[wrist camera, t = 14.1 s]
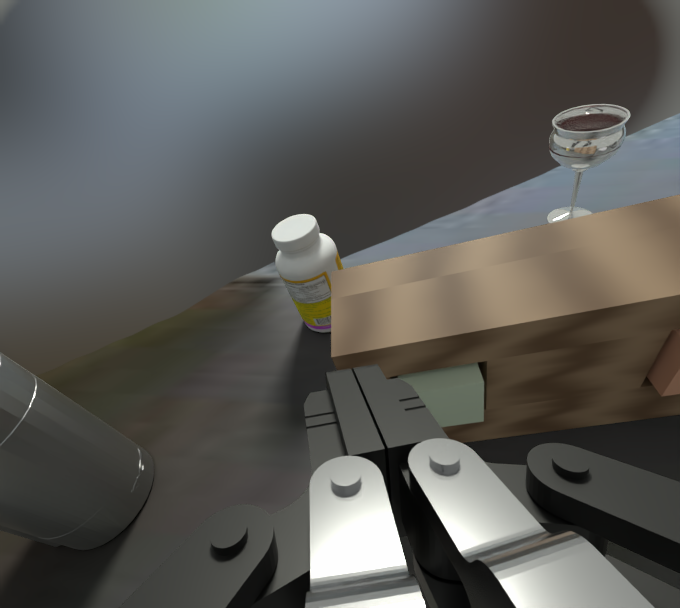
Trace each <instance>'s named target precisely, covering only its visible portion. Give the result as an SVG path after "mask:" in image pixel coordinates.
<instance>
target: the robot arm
mask: <svg viewBox="0 0 680 608" xmlns="http://www.w3.org/2000/svg"><path fill="white" fill-rule="evenodd" d="M326 384H327V390H324V391H318V392H312V393H310V394H309V396H308V397H307V399H306V401H305V403H304V411H305V419H306V427H307V435H308V444H309V452H310V460H311V468H312V477H311V481H310V484H309V486H308V488H307V489H306V491H305V492H304V493H303V495H302V496H301V497H300V498H299V499H298V500H296V501H295V502H294V503H292V504H291V505H289V506H287V507H286V508H284V509H282V510H280V511H278V512H276V513H274V514H272V515H270V516H269V514H268V513H267V512H266V511H265V510H263V509H262V508H260V507H258V506H255V505H249V504H240V505H234V506H231V507H227V508H225V509H223V510H220V511H218V512H217V513H215V514H213V515H212V516H210V517H209V518H208V519H206V520H205V521H204V522H203V523H202V524H201V525H200V526H199V527H198V528H197V529H196V530H195V531H194V532H193V533H192V534H191V535H190V536H189V537H188V538H187V539H186V540H185V541H184V542H183V543H182V544H181V545H180V546H179V547H178V548H177V549H176V550H175V551H174V552H173V553H172V554H171V555H170V556H169V557H168V558H167V559H166V560H165V561H164V562H163V563H162V564H161V565H160V566H159V567H158V568H157V569H156V570H155V571H154V573H153V574H152V575H151V576H150V577H149V578H148V579H147V580H146V581H145V582H144V583H143V584H142V585H141V586H140V587H139V588H138V589H137V590H136V591H135V592H134V593H133V594H132V595H131V596H130V597H129V598H128V599H127V600H126V601H125V602H124V603H123V604H122V605H121V606H120V607H119V608H426V607H425V604H424V600H423V597H422V594H421V590H420V587H419V585H418V582H419V584H420V586H421V589H422V591H423V593H424V595H425V598H426V600H427V602H428V604H429V607H430V608H680V590H679V589H677V588H675V587H673V586H671V585H669V584H667V583H665V582H663V581H661V580H659V579H657V578H655V577H653V576H650V575H648V574H646V573H644V572H642V571H640V570H638V569H636V568H634V567H632V566H630V565H628V564H626V563H624V562H622V561H620V560H618V559H616V558H613V557H611V556H609V555H607V554H606V549H607V543H608V540H609V541H611V542H614V543H616V544H618V545H620V546H622V547H624V548H627V549H629V550H631V551H633V552H635V553H637V554H639V555H642V556H644V557H646V558H648V559H650V560H652V561H655V562H657V563H659V564H661V565H663V566H665V567H667V568H670V569H672V570H674V571H676V572H678V573H680V482H678V481H676V480H673V479H670V478H667V477H664V476H661V475H658V474H655V473H652V472H649V471H646V470H643V469H640V468H637V467H634V466H632V465H629V464H626V463H623V462H620V461H617V460H614V459H611V458H608V457H605V456H602V455H599V454H596V453H593V452H590V451H588V450H585V449H582V448H579V447H575V446H572V445H567V444H561V443H546V444H541V445H538V446H536V447H534V448H533V449H531V450H530V452H529V453H528V456H527V465H514V464H496V463H488V462H484V461H483V460H482V459H481V458H480V457H479V456H478V455H477V453H476V452H475V451H473V450H472V449H471V448H470V447H468V446H467V445H465V444H463V443H460V442H458V441H455V440H451V439H449V438H448V436H447V435H446V434H445V432H444V431H443V429H442V428H441V426H440V425H439V424H438V422H437V421H436V419H435V418H434V416H433V415H432V414H431V412H430V411H429V409H428V408H426V405H425V404H424V402H423V401H422V399H421V398H419V395H418V394H417V392H416V391H415V389H414V388H413V387H412V385H410V384H408V383H406V382H405V381H403V380H401V379H400V378H394V379H388V380H387V379H386V377H385V376H384V374H383V372H382V371H381V369H380V367H379V366H378V364H374V365H368V366H361V367H355V368H352V370H351V368H350V369H344V370H337V371H331V372H326ZM153 477H154V464H153V460H152V458H151V456H150V454H149V453H148V452H147V451H146V450H144V449H143V448H141V447H140V446H139V445H137V444H136V443H134V442H133V441H131V440H130V439H128V438H127V437H125V436H124V435H122V434H121V433H120V432H118V431H117V430H115V429H114V428H112V427H111V426H109V425H108V424H106V423H105V422H103V421H102V420H100V419H99V418H97V417H96V416H94V415H93V414H91V413H90V412H88V411H87V410H85V409H84V408H82V407H81V406H79V405H78V404H76V403H75V402H74V401H72V400H71V399H69V398H68V397H66V396H65V395H63V394H62V393H60V392H59V391H57V390H56V389H54V388H53V387H51V386H50V385H48V384H47V383H45V382H44V381H42V380H41V379H39V378H38V377H36V376H35V375H33V374H32V373H30V372H29V371H27V370H26V369H24V368H23V367H21V366H20V365H18V364H17V363H15V362H14V361H12V360H11V359H9V358H8V357H6V356H5V355H3V354H2V353H0V530H1V531H5V532H8V533H11V534H14V535H18V536H21V537H24V538H28V539H31V540H34V541H38V542H41V543H44V544H48V545H51V546H54V547H58V546H60V545H64V546H67V547H70V548H73V549H78V550H89V549H94V548H96V547H99V546H101V545H104V544H105V543H107V542H108V541H110V540H112V539H113V538H115V537H116V536H117V535H118V534H119V533H121V532H122V531H123V530H124V529H125V528H126V527H127V526H128V525H129V524H130V523H131V521H132V520H133V519H134V518H135V516H136V515H137V514H138V512H139V511H140V509H141V508H142V506H143V504H144V503H145V501H146V499H147V497H148V494H149V492H150V489H151V486H152V482H153ZM403 536H408V539H409V542H410V544H411V547H412V551H413V567H414V572H415V575H416V577H417V580H418V582H417V580H416V578H415V576H414V575H410V574H409V572H408V569H407V565H406V562H405V558H404V554H403V550H402V547H401V543H400V539H399V537H403Z"/></svg>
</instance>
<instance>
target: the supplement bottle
mask: <svg viewBox="0 0 680 608" xmlns="http://www.w3.org/2000/svg"><path fill="white" fill-rule="evenodd" d="M272 239H273V241H274V243H275V245H276V247H277V248H278V249H279V251H278V253H277V256H276V262H275V263H276V268H277V270H278V272H279V274H280V276H281V278H282V280H283V282H284V284H285V286H286V288H287V290H288V292H289V294H290V296H291V297H292V299H293V301H294V303H295V305H296V307H297V309H298V311H299V313H300V315H301V317H302V319H303V321H304V322H305V324H306V326H307V327H308V328H310V329H311V330H313V331H316V332H323V333H324V332H331V272H332V271H337V270H341V269H343V266H342V263H341V260H340V257H339V255H338V252H337V249H336V246H335V244H334V242H333V241H332V239H331V238H330V237H328V236H327V235H325V234H322V233H319V226H318V224H317V222H316V219H315V218H314V217H313V216H311V215H308V214H300V215H295V216H291V217H289V218H287V219H285V220H283V221H281V222H280V223H279V224H277V225H276V227H275V228H274V229H273V231H272Z"/></svg>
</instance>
